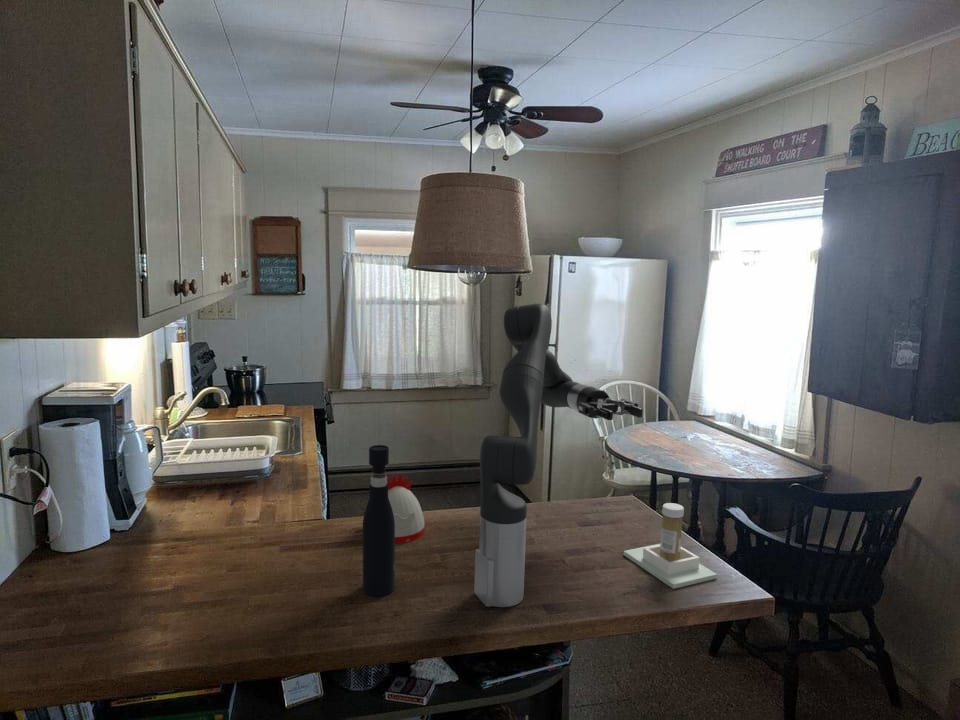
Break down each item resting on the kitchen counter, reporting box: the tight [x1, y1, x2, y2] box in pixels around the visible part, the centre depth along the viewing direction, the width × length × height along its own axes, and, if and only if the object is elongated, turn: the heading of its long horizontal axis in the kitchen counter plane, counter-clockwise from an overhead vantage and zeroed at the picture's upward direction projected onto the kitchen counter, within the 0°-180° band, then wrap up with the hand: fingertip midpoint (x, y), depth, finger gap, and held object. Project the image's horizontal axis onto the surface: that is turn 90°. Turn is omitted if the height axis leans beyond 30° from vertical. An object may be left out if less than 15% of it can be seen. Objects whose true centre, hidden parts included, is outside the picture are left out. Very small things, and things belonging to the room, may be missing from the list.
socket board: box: [623, 543, 718, 590], centre depth 147 cm, size 12×17×4 cm
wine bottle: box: [362, 444, 396, 597], centre depth 132 cm, size 6×6×30 cm
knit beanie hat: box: [385, 472, 425, 544], centre depth 162 cm, size 14×14×15 cm
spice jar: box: [659, 502, 685, 562], centre depth 146 cm, size 5×5×14 cm
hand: (626, 414), depth 154 cm, fingers open, 8 cm apart
